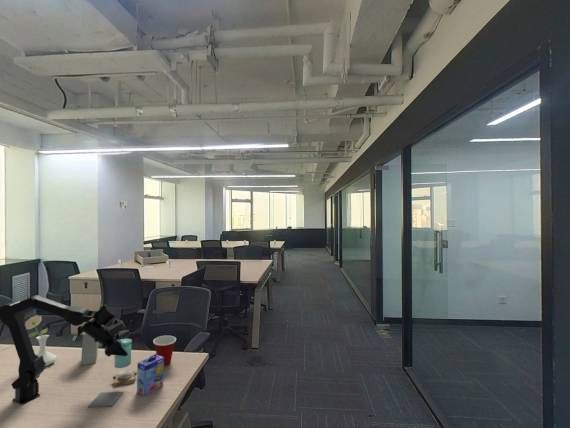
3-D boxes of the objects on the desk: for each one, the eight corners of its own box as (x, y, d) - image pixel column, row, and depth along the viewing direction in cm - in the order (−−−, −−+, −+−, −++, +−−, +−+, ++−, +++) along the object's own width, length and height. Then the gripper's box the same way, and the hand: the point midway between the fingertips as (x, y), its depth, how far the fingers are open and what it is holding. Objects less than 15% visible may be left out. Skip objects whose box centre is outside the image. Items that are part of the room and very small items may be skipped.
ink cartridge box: (144, 396, 126) (145, 360, 126) (136, 392, 128) (136, 357, 129) (164, 384, 135) (164, 351, 135) (156, 381, 137) (156, 348, 137)
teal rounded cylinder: (123, 369, 132) (124, 345, 132) (110, 367, 133) (110, 344, 133) (134, 361, 138) (135, 339, 138) (121, 360, 140) (122, 338, 140)
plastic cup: (163, 370, 147) (163, 345, 147) (148, 365, 152) (148, 341, 152) (181, 361, 156) (181, 337, 157) (166, 356, 162) (166, 333, 162)
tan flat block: (112, 386, 133) (112, 379, 133) (114, 377, 140) (114, 371, 140) (136, 382, 137) (136, 375, 137) (137, 373, 144) (137, 367, 144)
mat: (88, 407, 118) (88, 405, 118) (100, 394, 127) (100, 392, 127) (112, 406, 119) (112, 404, 119) (123, 393, 128) (123, 391, 128)
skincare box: (83, 359, 159) (83, 328, 159) (99, 356, 162) (99, 326, 162) (80, 366, 151) (80, 333, 152) (97, 363, 154) (97, 331, 155)
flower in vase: (53, 357, 161) (53, 309, 162) (59, 363, 154) (60, 313, 154) (20, 366, 151) (21, 315, 152) (26, 374, 144) (26, 320, 144)
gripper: (115, 322, 126) (144, 343, 132) (111, 310, 142) (137, 330, 147) (92, 345, 122) (123, 367, 127) (91, 331, 137) (118, 350, 143)
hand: (126, 352), depth 136 cm, fingers closed on teal rounded cylinder, 6 cm apart
